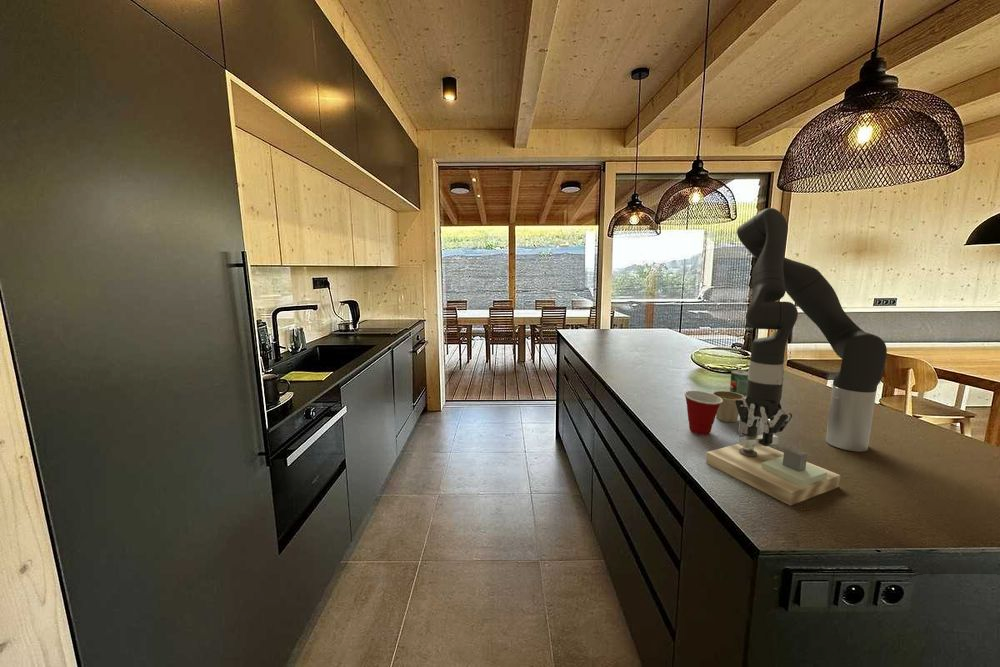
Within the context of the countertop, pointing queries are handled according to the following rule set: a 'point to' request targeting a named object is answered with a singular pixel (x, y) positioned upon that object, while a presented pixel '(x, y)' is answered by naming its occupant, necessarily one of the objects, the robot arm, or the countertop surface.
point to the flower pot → (728, 406)
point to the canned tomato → (739, 382)
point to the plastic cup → (701, 411)
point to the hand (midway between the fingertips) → (759, 442)
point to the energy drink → (744, 427)
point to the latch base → (767, 473)
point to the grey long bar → (754, 442)
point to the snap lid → (794, 468)
